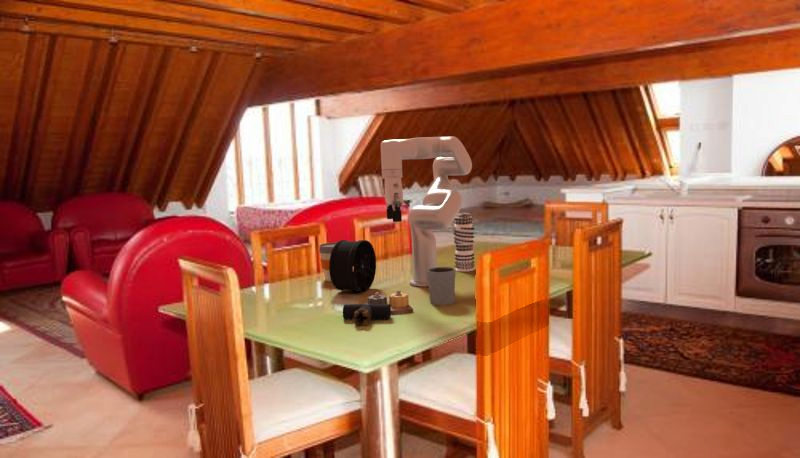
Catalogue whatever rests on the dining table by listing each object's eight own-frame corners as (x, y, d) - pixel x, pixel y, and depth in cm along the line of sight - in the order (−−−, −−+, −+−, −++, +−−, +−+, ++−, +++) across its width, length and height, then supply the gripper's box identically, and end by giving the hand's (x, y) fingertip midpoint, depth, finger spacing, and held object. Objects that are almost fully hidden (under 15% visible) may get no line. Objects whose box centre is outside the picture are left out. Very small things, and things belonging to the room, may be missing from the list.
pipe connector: (383, 310, 200) (337, 310, 202) (384, 327, 200) (337, 326, 203) (390, 302, 211) (346, 302, 213) (391, 317, 211) (347, 317, 214)
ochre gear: (405, 301, 225) (405, 291, 224) (410, 306, 219) (410, 295, 218) (387, 303, 223) (387, 293, 223) (392, 308, 217) (391, 297, 217)
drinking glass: (437, 307, 220) (436, 273, 218) (422, 301, 229) (421, 268, 227) (462, 303, 225) (461, 269, 223) (447, 297, 234) (445, 265, 232)
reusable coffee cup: (315, 281, 271) (313, 246, 269) (329, 275, 283) (327, 242, 281) (341, 282, 267) (339, 247, 265) (355, 276, 278) (353, 242, 276)
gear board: (403, 303, 228) (403, 286, 227) (413, 311, 216) (412, 294, 215) (365, 307, 225) (364, 289, 224) (372, 316, 212) (371, 298, 212)
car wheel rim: (354, 297, 241) (351, 244, 238) (330, 295, 245) (327, 244, 242) (377, 285, 259) (374, 236, 256) (355, 284, 263) (352, 236, 260)
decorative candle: (479, 268, 285) (477, 212, 281) (469, 272, 277) (468, 214, 274) (460, 266, 290) (458, 212, 286) (451, 270, 282) (449, 214, 279)
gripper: (407, 174, 228) (409, 222, 230) (396, 172, 245) (398, 217, 247) (387, 175, 226) (389, 223, 228) (377, 173, 243) (379, 218, 245)
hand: (394, 220), depth 238 cm, fingers open, 9 cm apart
